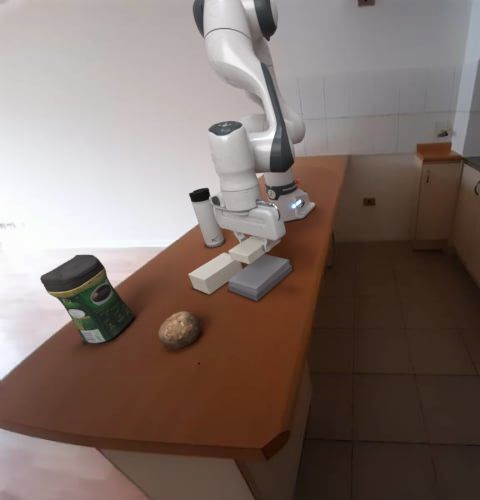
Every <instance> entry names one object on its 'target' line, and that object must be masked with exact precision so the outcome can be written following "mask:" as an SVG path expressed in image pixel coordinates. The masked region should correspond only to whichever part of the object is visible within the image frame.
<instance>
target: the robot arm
mask: <svg viewBox="0 0 480 500" xmlns="http://www.w3.org/2000/svg"><path fill="white" fill-rule="evenodd" d="M192 15H193V20H194V22H195V25H196V28H197V30H198V32H199V34H200V35H201V37H202V39H204V47H205V53H206V58H207V62H208V65H209V68H210V69H211V70H212V72H213V73H214V75H215V76H216V77H217V78H219V79H220V80H221V81H222V82H224V83H225V84H227V85H229V86H230V87H233V88H236V89H240V90H243V92H244V93H245V96H246V98H247V99H248V100H250V101H251V102H252V103H255V104H256V105H258V106H259V107H260V108H261V110H262V112H264V113H252V114H248V115H245V116H242V117H240V118H239V119H238V121H235V120H226V121H221V122H218V123H217V122H216V123H214V124H211V126H210V127H209V128H207V140H208V147H209V153H210V158H211V162H212V166H213V168H214V172H215V173H216V174H217V176H218V179H219V189H220V191H218V192H216V193H214V194H212V195H211V196H210V197H209V200H210V203H211V204H212V205H213V211H214V214H215V217H216V220H217V223H218V225H219V226H220V228H221V229H222V230H228V231H231V232H233V235H234V236H235V237H236V239H237V240H238V242H239V244H240V243H242V242H243V241H245V240H246V239H248V238H249V237H246V235H248V236H257V237H261V238H262V239H263V241H265V242H264V244H263V245H261V246H262V250H263V251H265V252H266V253H268V252H270V251H271V250H272V248H271V245H270V243H271V241H272V240H273V241H277V240H279V239H280V238H281V239H283V237H284V236H285V235H286V232H287V230H286V226H285V222H289V221H290V222H291V221H294V220H302V219H304V218H305V217H306V216H307V215H308V214H309V213H310V212H311V211H312V210H313V209H315V207H316V203H315V202H313V201H310V197H309V194H308V193H307V191H306V190H302V189H300V188H299V186H298V185H300V184H301V179H300V178H295V179H294V174H293V173H294V172H293V166H294V164H295V162H296V161H295V159H296V150H295V146H294V145H297V144H300V143H302V142H303V140H304V138H305V135H306V123H305V121H304V119H303V117H302V116H301V115H300V114H298V113H297V112H296V111H295V110H293V109H292V108H291V107H290V105H288V103H287V102H286V100H285V99H284V97H283V96H282V93H281V90H280V87H279V84H278V80H277V76H276V72H275V67H274V62H273V58H272V55H271V54H272V53H271V51H270V48H269V44H268V42H270V41H271V38H272V37H273V36H274V35H275V33H276V31H277V29H278V23H279V12H278V7H277V3H276V1H275V0H194V1H193V3H192ZM257 174H263V176H264V181H265V183H264V189H265V193H266V200H264V198H263V193H262V189H261V185H260V180H259V178H258V176H257Z"/></svg>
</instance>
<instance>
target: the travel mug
mask: <svg viewBox="0 0 480 500" xmlns="http://www.w3.org/2000/svg"><path fill="white" fill-rule="evenodd" d="M188 196H189V199H190V202H191V206H192V208H193V211H194V214H195V217H196V221H197V223H198V226H199V228H200V230H201V235H202V237H203V240H204V244H205V246H206V247H207V248H217V247H219V246H223V244H224V243H225V238H224V234H223V231H222V228H221V227H220V226H219V225H218V223H217V220H216V217H215V214H214V211H213V205H212V204H211V203H210V200H209V197H210V196H212V195H211V192H210V188H209V187H202V188H197V189H195V190H193V191H191V192H189V193H188Z"/></svg>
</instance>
